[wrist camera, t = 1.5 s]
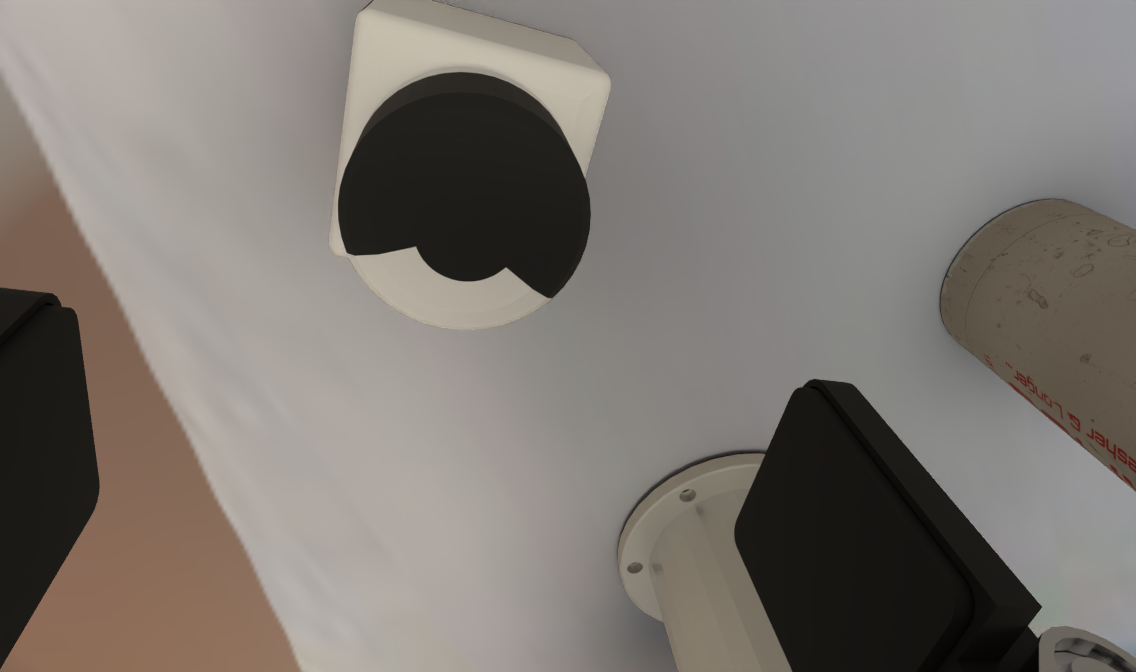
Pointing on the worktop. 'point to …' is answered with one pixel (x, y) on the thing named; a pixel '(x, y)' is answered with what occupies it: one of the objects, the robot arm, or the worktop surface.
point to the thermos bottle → (1056, 319)
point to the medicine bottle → (464, 162)
